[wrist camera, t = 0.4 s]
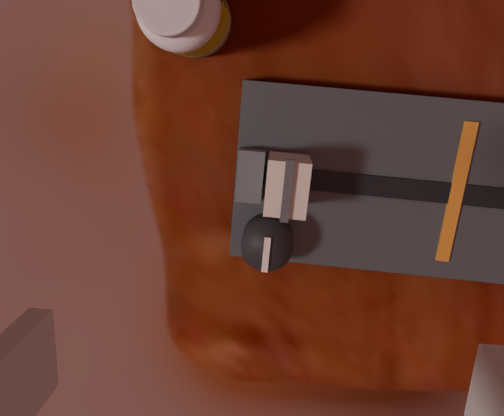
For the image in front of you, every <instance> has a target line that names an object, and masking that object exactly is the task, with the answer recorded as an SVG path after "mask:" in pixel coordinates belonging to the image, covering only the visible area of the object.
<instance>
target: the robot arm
mask: <svg viewBox="0 0 504 416" xmlns="http://www.w3.org/2000/svg"><path fill="white" fill-rule="evenodd" d="M53 319H54V318H53V310H50V309H38V308H28V309H27V310H26V311H25V312H24V313H23V314H22V315H21V316H20V317H18V318H17V319H16V320H15V321H14V322H13V323H12V324H11V325H10V326H9V327H7V328H6V329H5V330H4V331H3V332H2V333H1V334H0V416H36V414H37V413H38V412H39V410H40V409H41V408H42V406H43V405H44V404H45V402H46V401H47V400H48V398H49V397H50V396H51V394H52V393H53V391H54V390H55V389H56V387H57V386H58V373H57V359H56V345H55V332H54V320H53ZM464 416H504V346H502V345H490V344H479V346H478V350H477V355H476V360H475V365H474V369H473V374H472V379H471V384H470V388H469V393H468V398H467V403H466V407H465V412H464Z"/></svg>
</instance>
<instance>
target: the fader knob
mask: <svg viewBox="0 0 504 416" xmlns="http://www.w3.org/2000/svg"><path fill="white" fill-rule="evenodd" d="M312 165H313V164H312V161H311V158H310V155H306V154H296V153H285V152H275V151H270V153H269V158H268V167H267V177H266V188H265V198H264V209H263V217H273V218H280V222H282V223H288V220H289V219H293V220H303V221H306V214H307V206H308V197H309V189H310V181H311V173H312Z"/></svg>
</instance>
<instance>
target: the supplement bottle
mask: <svg viewBox="0 0 504 416" xmlns="http://www.w3.org/2000/svg"><path fill="white" fill-rule="evenodd" d="M132 5H133V9H134V12H135V14H136V18H137V21H138V24H139V26H140V28H141V30H142V31H143V33H144V34H145V35H146V37H147V38H148V39H149V40H150V41H151V42H152V43H154V44H155V45H156V46H158V47H160V48H162V49H164V50H166V51H169V52H173V53H176V54H179V55H183V56H186V57H191V58H203V57H207V56H210V55H212V54H213V53H215V52H217V51H218V50H219V49H220V48H221V47H222V46H223V45H224V43H225V42H226V40H227V38H228V36H229V33H230V29H231V12H230V8H229V6H228V3H227V1H226V0H132Z"/></svg>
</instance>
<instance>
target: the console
mask: <svg viewBox="0 0 504 416" xmlns="http://www.w3.org/2000/svg"><path fill="white" fill-rule="evenodd" d="M270 151H275V152H285V153H296V154H306V155H310V158H311V161H312V164H313V165H312V173H311V181H310V189H309V197H308V206H307V214H306V221H303V220H293V219H289V220H288V223H282V222H280V218H273V217H263V209H264V198H265V188H266V177H267V167H268V158H269V153H270ZM229 255H230V256H239V257H244V259H245V260H246V262H247V263H248V264H249V265H251V266H252V267H254V268H256V269H258V270H261V272H268V271H273V270H277V269H279V268H281V267H283V266H284V265H285V264H286V263H287V262H297V263H306V264H316V265H325V266H335V267H345V268H354V269H364V270H373V271H383V272H392V273H402V274H412V275H421V276H431V277H440V278H450V279H459V280H469V281H479V282H488V283H498V284H504V103H500V102H489V101H477V100H466V99H455V98H444V97H432V96H421V95H410V94H399V93H388V92H376V91H365V90H354V89H343V88H332V87H320V86H309V85H298V84H287V83H276V82H264V81H253V80H243V85H242V98H241V111H240V124H239V137H238V150H237V163H236V176H235V189H234V202H233V215H232V228H231V241H230V254H229Z"/></svg>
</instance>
